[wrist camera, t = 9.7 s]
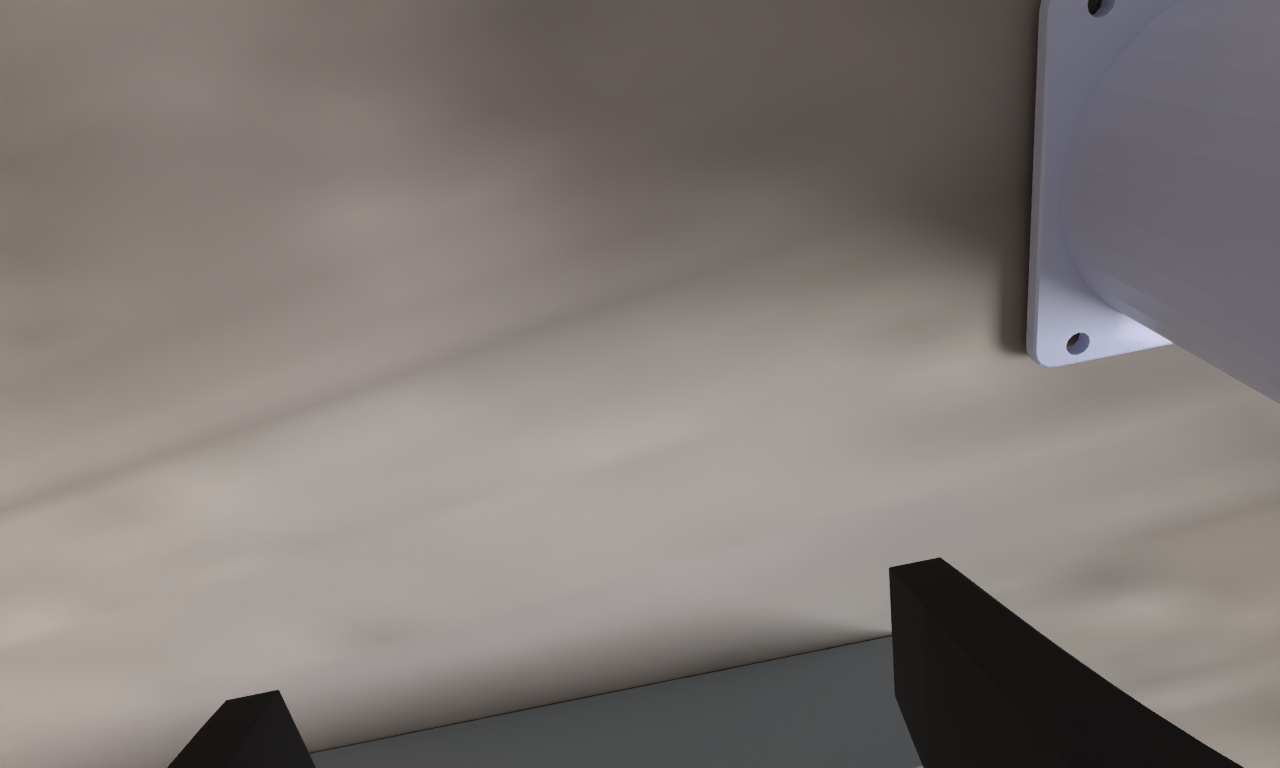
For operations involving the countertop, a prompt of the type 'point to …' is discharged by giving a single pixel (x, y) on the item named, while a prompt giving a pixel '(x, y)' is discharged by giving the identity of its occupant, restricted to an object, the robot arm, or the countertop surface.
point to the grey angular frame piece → (685, 723)
